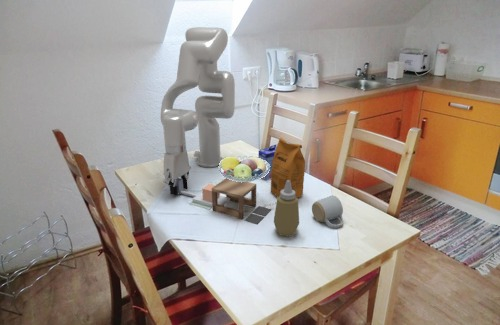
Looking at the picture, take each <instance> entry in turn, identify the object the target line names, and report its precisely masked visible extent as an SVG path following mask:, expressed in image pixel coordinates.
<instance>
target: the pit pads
mask: <svg viewBox="0 0 500 325" xmlns="http://www.w3.org/2000/svg"><path fill="white" fill-rule="evenodd" d="M271 211H272V209H271V208H268V207H265V206H260V205H258V206H256V207H255V209H254V210H253V211H252V212H251V213H250V214H249V215H247V217H246V218H245V219H243V220H244V222H248V223H251V224H255V225H258V224H259V223H261V221H262V220H264V218H265V217H266V216H267V215H268V214H269V213H270V212H271Z"/></svg>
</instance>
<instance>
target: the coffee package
mask: <svg viewBox="0 0 500 325" xmlns="http://www.w3.org/2000/svg"><path fill="white" fill-rule="evenodd" d="M276 147H277V148H276V151H275V154H274V158H273V162H272V170H271V178H270V193H271V194H273V195H275V196H276V198H278V197H279V196H280V191H281V190H283V189H284V188H285V185H286V181H287V180H290V182H291V187H292V190H294V191H295V193H296V194H295V197H296V198H301V197H302V196H303V195H304V181H305V170H306V160H305V157H304V154H303V152H302V148H303V145H302V144H298V143H290V142H287V141H286V140H285V139H284V138H282V137H280V138H279V139H278V142H277V145H276Z"/></svg>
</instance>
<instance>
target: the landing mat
mask: <svg viewBox="0 0 500 325" xmlns="http://www.w3.org/2000/svg"><path fill="white" fill-rule="evenodd" d="M188 203H189V205H192V206H196V207H199V208H202V209H206V210H211V209H213V207H210V206H207V205H203V204H200V203H196V202H193V200H192V201H190V202H188Z"/></svg>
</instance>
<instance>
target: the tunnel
mask: <svg viewBox="0 0 500 325" xmlns="http://www.w3.org/2000/svg"><path fill="white" fill-rule="evenodd" d="M215 185H216V186H214V187H213V188H212V206H213V207H212V212H215V213H218V214H222V215H225V216H229V217H232V218H236V219H239V220H244V218H245V206H247V207H250V208H255V209H256V208H257V183H254V182H251V181H250V182H249V181H246V182H242V183H241V182H236V181H232V180H229V179H227V177H226V178H224V179H222V181H220V182H218V183H217V184H215ZM217 192H218V193H220V194H223V195H225V197H228V198H230V201H229V202H231V201H232V203H234V204H235V203H236V204H238V209H236V208H232V207H229V206H226V205H225V206H222V205H218V200H217ZM249 193H250V195H251V196H250V197H251V198H250V197H246V196H248V194H249Z"/></svg>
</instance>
